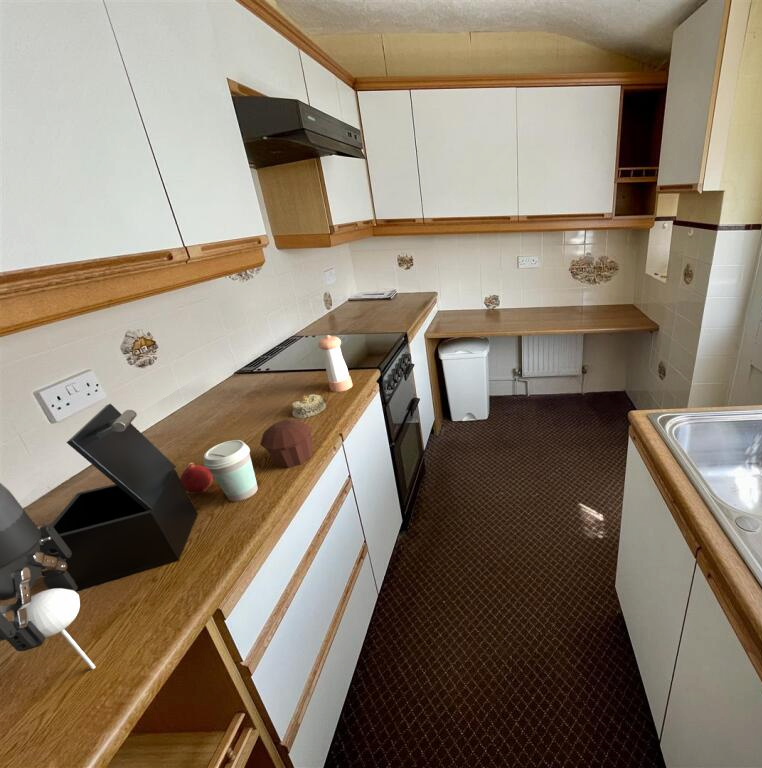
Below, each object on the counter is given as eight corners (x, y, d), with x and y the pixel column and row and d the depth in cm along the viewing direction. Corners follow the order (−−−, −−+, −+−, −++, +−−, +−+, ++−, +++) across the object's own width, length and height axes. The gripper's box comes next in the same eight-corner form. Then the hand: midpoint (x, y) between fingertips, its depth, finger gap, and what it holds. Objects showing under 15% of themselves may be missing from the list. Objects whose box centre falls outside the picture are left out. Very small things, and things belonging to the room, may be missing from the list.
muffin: (323, 442, 110) (313, 410, 106) (312, 467, 100) (300, 432, 96) (277, 448, 109) (265, 416, 105) (261, 474, 99) (247, 439, 95)
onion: (203, 501, 91) (189, 472, 88) (181, 499, 92) (166, 471, 88) (223, 484, 96) (210, 456, 93) (202, 483, 97) (189, 455, 94)
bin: (72, 592, 71) (34, 543, 66) (107, 538, 82) (77, 492, 77) (178, 560, 76) (151, 512, 71) (197, 513, 87) (175, 469, 82)
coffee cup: (219, 492, 93) (198, 449, 88) (260, 476, 98) (243, 434, 93) (224, 512, 87) (202, 466, 82) (268, 493, 92) (250, 449, 87)
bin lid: (65, 442, 62) (101, 426, 63) (106, 405, 74) (135, 392, 75) (147, 511, 71) (177, 496, 72) (172, 468, 82) (197, 456, 83)
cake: (333, 407, 130) (330, 392, 128) (307, 422, 122) (303, 407, 120) (312, 399, 134) (308, 385, 132) (285, 414, 126) (280, 399, 124)
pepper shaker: (356, 386, 142) (343, 334, 134) (336, 394, 138) (321, 340, 130) (346, 381, 147) (333, 330, 139) (327, 388, 142) (312, 336, 134)
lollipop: (77, 698, 55) (12, 627, 49) (55, 682, 57) (-11, 612, 51) (130, 654, 60) (77, 584, 54) (107, 640, 62) (54, 572, 56)
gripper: (-25, 498, 52) (46, 586, 59) (-130, 587, 40) (-25, 685, 47) (51, 480, 54) (111, 567, 61) (-27, 560, 42) (59, 656, 49)
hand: (52, 618), depth 54 cm, fingers open, 7 cm apart
